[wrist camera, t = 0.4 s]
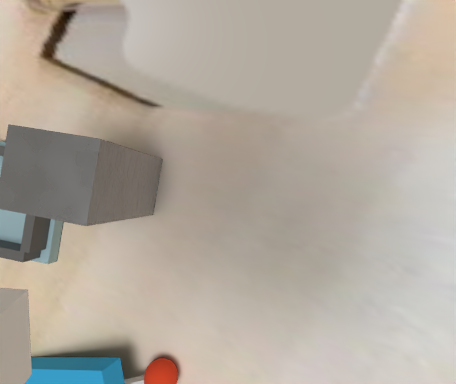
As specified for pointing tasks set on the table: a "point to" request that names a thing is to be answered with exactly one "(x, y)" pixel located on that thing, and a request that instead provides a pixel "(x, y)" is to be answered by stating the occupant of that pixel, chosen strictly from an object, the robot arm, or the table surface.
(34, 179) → the tall grey rectangular box
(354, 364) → the table surface
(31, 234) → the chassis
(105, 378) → the tilted blue plank
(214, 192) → the table surface
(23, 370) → the robot arm
